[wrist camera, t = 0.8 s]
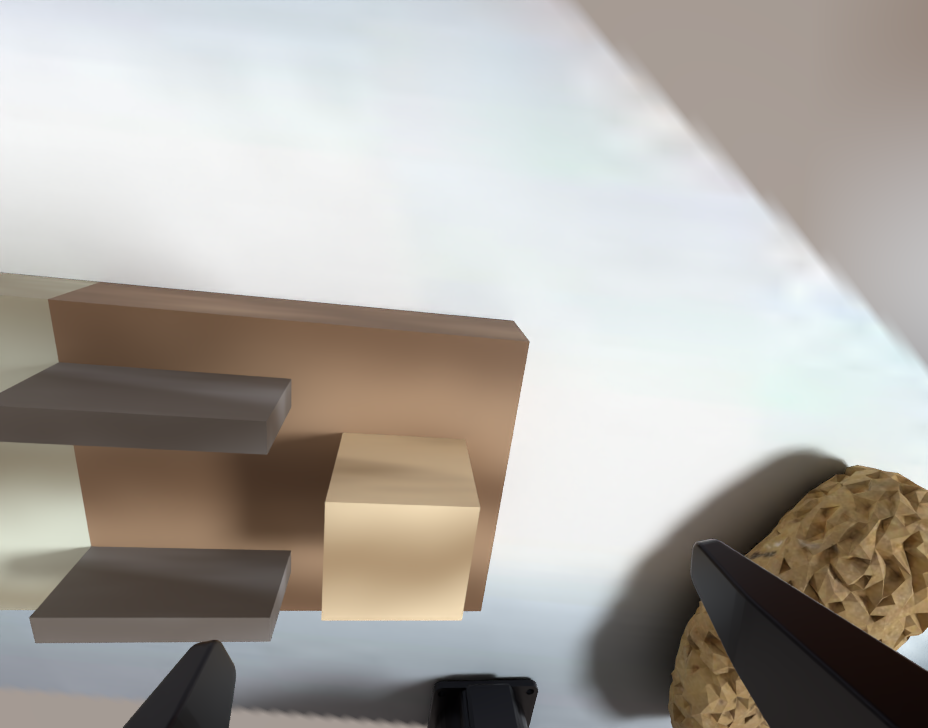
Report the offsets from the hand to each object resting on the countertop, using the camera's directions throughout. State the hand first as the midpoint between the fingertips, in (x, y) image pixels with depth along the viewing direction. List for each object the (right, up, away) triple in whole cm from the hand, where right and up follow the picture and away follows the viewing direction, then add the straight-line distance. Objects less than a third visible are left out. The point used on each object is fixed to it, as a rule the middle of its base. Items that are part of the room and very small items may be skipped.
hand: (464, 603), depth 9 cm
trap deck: (-16, +1, +12) cm, 20 cm away
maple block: (-3, -1, +12) cm, 12 cm away
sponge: (+18, -10, +21) cm, 30 cm away
